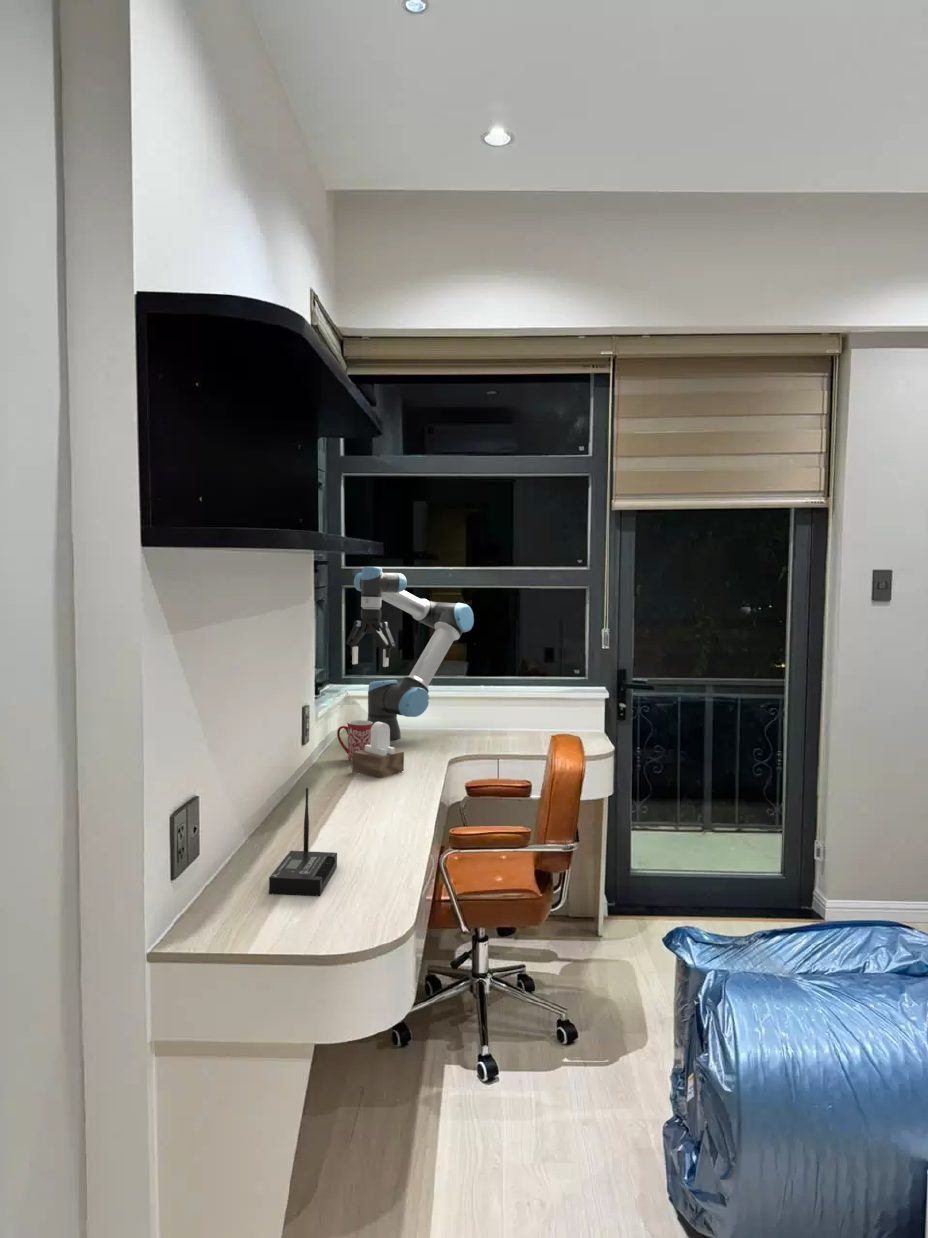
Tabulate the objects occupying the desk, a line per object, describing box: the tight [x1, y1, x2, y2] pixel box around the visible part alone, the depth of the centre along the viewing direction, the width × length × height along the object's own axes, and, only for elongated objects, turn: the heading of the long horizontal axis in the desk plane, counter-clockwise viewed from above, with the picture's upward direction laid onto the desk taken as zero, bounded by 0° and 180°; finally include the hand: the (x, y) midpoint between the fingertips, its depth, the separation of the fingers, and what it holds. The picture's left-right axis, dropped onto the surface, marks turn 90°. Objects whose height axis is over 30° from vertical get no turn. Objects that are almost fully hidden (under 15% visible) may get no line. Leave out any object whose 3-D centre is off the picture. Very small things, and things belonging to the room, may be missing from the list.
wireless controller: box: [268, 787, 338, 897], centre depth 169 cm, size 20×14×17 cm
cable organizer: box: [365, 722, 396, 756], centre depth 262 cm, size 5×10×10 cm, turn 44°
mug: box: [336, 719, 373, 762], centre depth 279 cm, size 13×9×14 cm
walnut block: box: [351, 749, 405, 779], centre depth 263 cm, size 12×12×7 cm
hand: (370, 665), depth 295 cm, fingers open, 13 cm apart
